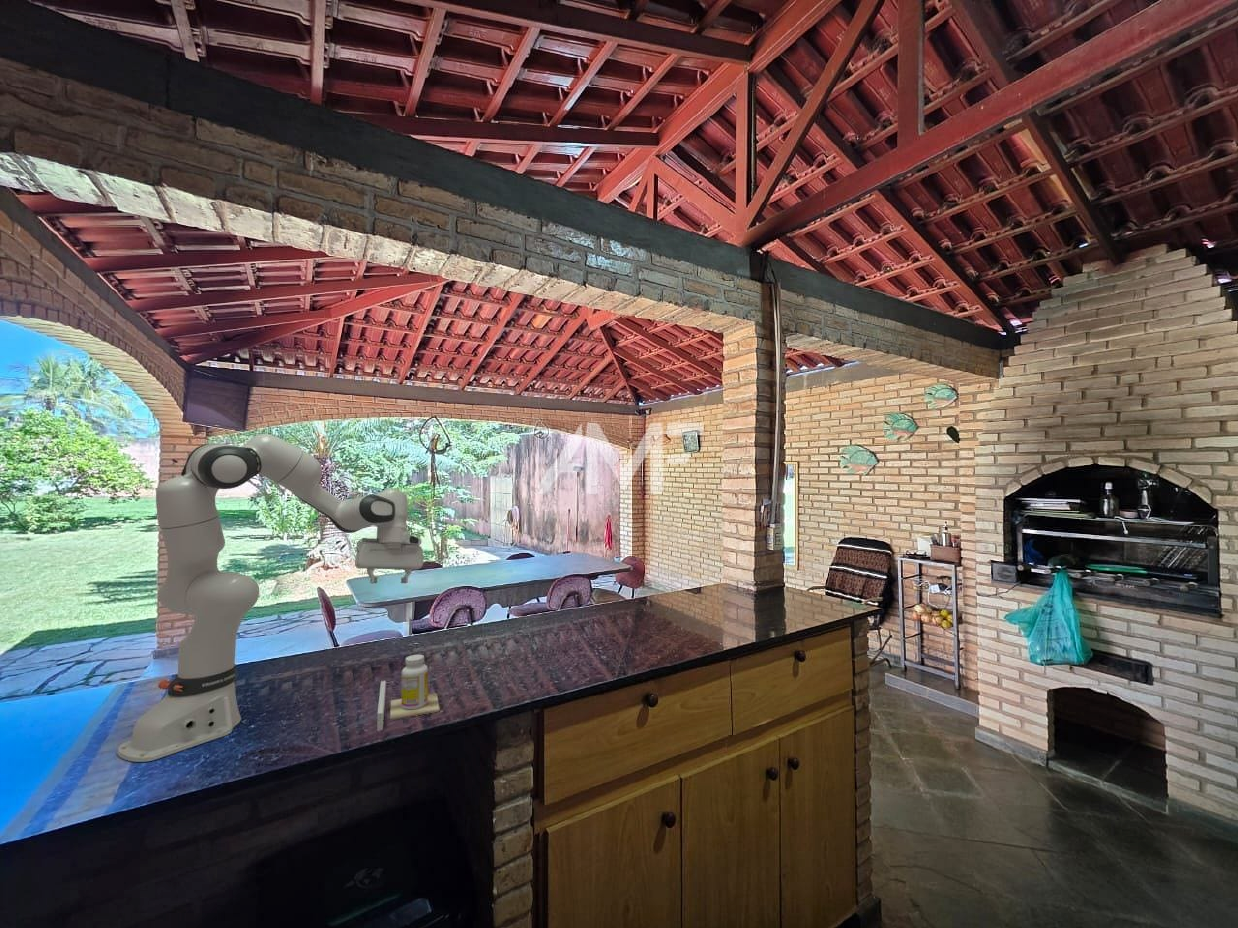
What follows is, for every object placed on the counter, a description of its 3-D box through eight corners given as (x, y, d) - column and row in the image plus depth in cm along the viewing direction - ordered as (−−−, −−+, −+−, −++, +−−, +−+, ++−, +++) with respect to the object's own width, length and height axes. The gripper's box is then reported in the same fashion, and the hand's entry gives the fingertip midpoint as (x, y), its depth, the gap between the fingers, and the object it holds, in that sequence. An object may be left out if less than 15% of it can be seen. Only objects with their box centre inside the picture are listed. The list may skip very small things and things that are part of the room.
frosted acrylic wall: (382, 731, 120) (382, 712, 120) (377, 732, 119) (377, 713, 119) (385, 696, 140) (385, 680, 140) (380, 697, 139) (381, 681, 139)
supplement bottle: (419, 697, 137) (420, 651, 138) (432, 703, 133) (432, 656, 134) (396, 705, 132) (397, 657, 133) (408, 712, 128) (409, 663, 129)
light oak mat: (439, 712, 130) (439, 709, 130) (390, 721, 125) (390, 718, 125) (436, 694, 141) (436, 692, 141) (390, 702, 136) (391, 700, 136)
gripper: (361, 535, 147) (357, 582, 143) (426, 539, 162) (424, 581, 157) (353, 539, 151) (349, 584, 147) (417, 542, 166) (416, 584, 161)
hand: (389, 583), depth 152 cm, fingers open, 8 cm apart
